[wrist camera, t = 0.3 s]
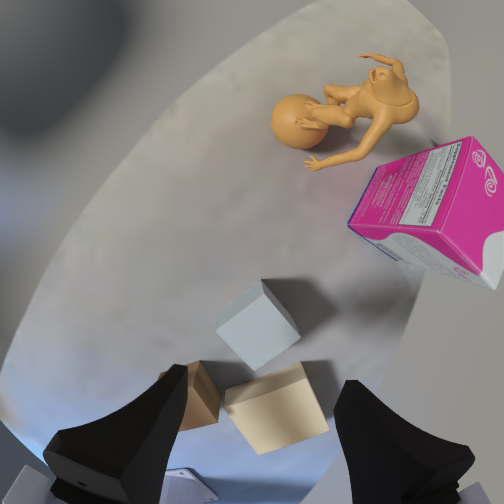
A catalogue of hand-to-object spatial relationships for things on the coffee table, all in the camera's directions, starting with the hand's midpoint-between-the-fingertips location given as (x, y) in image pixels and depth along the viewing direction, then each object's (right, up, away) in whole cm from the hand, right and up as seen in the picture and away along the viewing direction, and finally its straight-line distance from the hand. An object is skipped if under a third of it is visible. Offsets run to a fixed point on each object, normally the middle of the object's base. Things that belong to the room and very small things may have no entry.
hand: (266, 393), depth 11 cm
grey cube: (0, +2, +10) cm, 10 cm away
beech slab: (+2, -7, +12) cm, 14 cm away
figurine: (+3, +15, +9) cm, 18 cm away
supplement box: (+10, +9, +10) cm, 17 cm away
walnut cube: (-6, -5, +11) cm, 14 cm away
